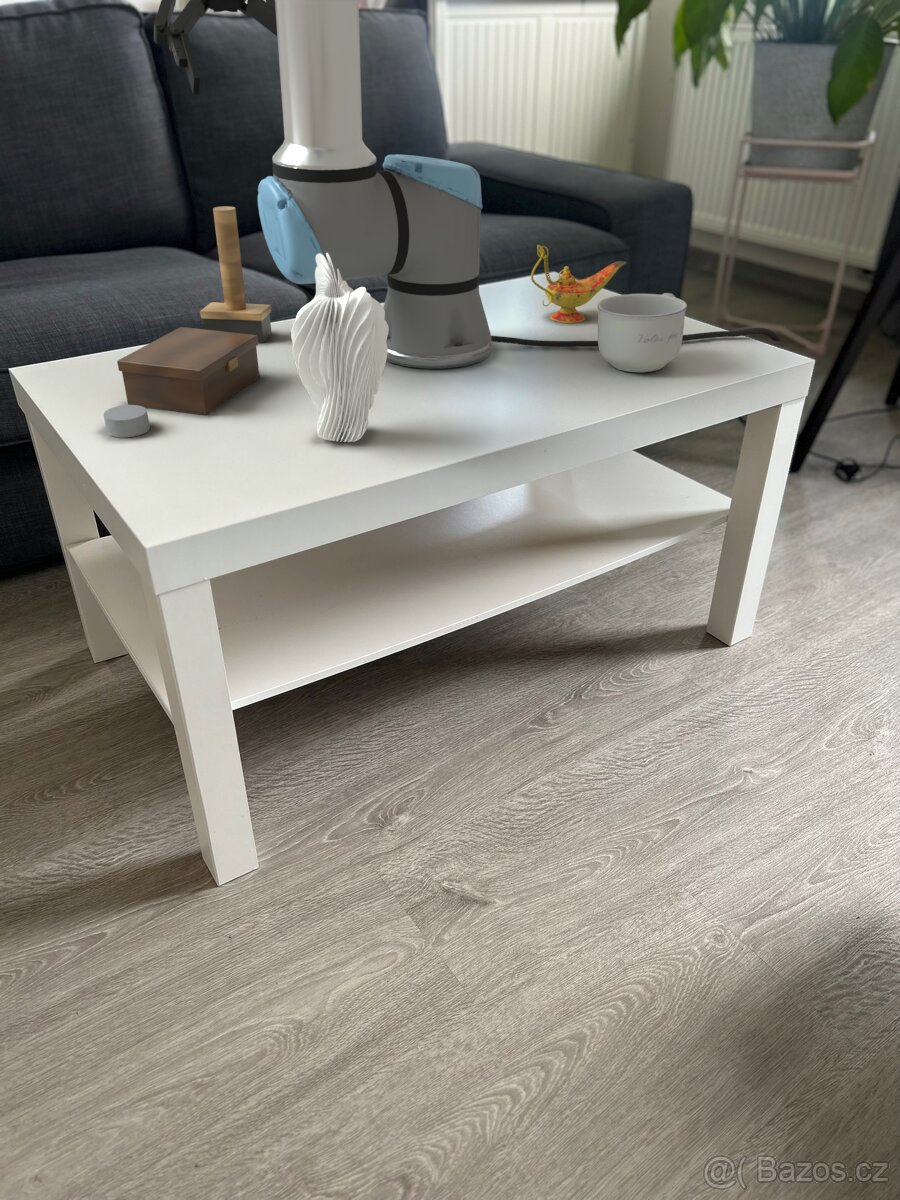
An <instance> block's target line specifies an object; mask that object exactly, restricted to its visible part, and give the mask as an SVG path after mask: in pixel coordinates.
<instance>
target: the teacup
mask: <svg viewBox="0 0 900 1200" xmlns="http://www.w3.org/2000/svg"><path fill="white" fill-rule="evenodd" d="M687 308H688V304H687V303H686V301H684V300H682V299H680V298H678V297H676V296H675V295H674V294H673V293H671V292H670V293H669V292H664V293H662V294H658V293H657V294H656V293H629V294H627V293H626V294H619V295H613V296H609V297H605V298H603V299H601V300H599V302H597V310H598V311H597V313H598V314H597V341H598V346H599V347H598V350H599V353H600V355H601V357H602V358H603V359H604V360H606V362H608V363H609V364H610V366H612V367H613V368H614V369H617V370H619V371H623V372H629V373H649V372H654V371H658V370H661V369H663V368H664V367H666V366H667V365H668V363H670V362H671V361H673V360H674V359H675V358H676V357H677V356H678V355H679V352H680V350H681V348H682V343H683V341H682V338H683V335H684V329H685V318H686V310H687Z"/></svg>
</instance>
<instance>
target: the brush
mask: <svg viewBox="0 0 900 1200" xmlns="http://www.w3.org/2000/svg"><path fill="white" fill-rule="evenodd" d="M236 209H237V208H236V207H234V206H228V205H227V206H226V205H225V206H223V205H222V206H215V207H213V208H212V213H213V223H214V229H215V235H216V236H215V237H216V246H217V253H218V261H219V262H218V263H219V270H220V276H221V277H220V278H221V287H222V293H223V301H224V302H214V301H211V302H210V303H208V304H207V305H206V306H204V308H202V309H201V310H200V311H199V312H200V313H199V314H200V318H201V319H202V321H203V326H204V330H214V331H223V332H233V333H242V334H251V335H257V336H258V344H259V343H260V344H263V343H265V342H266V341H267V339H269V337H270V336H271V335H272V325H271V315H270V313H272V305H271V304H266V303H265V304H263V303H262V304H261V303H247V301H246V292H245V281H244V273H243V263H242V255H241V248H240V247H241V246H240V245H241V244H240V239H239V229H238V219H237V211H236Z"/></svg>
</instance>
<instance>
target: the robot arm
mask: <svg viewBox="0 0 900 1200" xmlns="http://www.w3.org/2000/svg"><path fill="white" fill-rule="evenodd" d="M176 3H177V0H160V3H159V6H158V10H157V13H156V15H155V19H154V22H153V42H154V43H155V44H156V45H163V44H167V45H169V52H170V53H172V54H173V58H174V61H175V65H176V66H177V67H178V68H185V72H186V76H187V79H188V82H189V85H190V88H191V91H192V95H200V87H201V76H200V72H199V69H198V65H197V62H196V59H195V56H194V52H193V48H192V45H191V42H190V37H189V34H190V32H191V31H192V30H193V29H194V27H195V25H196V24H197V23H198V22H199V20H200V18H203V17H204V16H205V14H206V13H207V11H208V10H209V9H210V10H212V11H213V13H221V12H230V13H238V11H239V12H240V13H242V14H243V15H244V16H245V17H247V18H253V19H254V20H255V21H256V22H258V23H259V24H260V25H262V26H263V27H264V28H265V29H267V30H268V31H269V32H271V33H272V34H273V35H275V36H276V37H277V49H278V64H279V79H280V92H281V94H280V95H281V105H282V106H281V107H282V108H281V109H282V122H283V132H284V135H283V136H284V140H283V142H282V144H281V145H280V146H279V148H278V149H277V150H276V151H275V153H274V154H273V155H272V158H271V159H272V173H273V175H268V176H266V177H265V178H263V179H261V181H260V182H259V184H258V186H257V192H258V194H257V208H258V214H259V215H258V216H259V219H260V224H261V228H262V232H263V236H264V239H265V242H266V245H267V247H268V250H269V253H270V256H271V257H272V259H273V261H274V264H275V265H276V267H277V269H278V270H279V271H280V273H281V274H282V275H283V276H284V278H285V279H287V281H290V282H291V283H294V284H297V285H307V284H308V285H309V284H316V280H315V270H316V267H317V263H316V255H317V254H319V253H320V254H322V255H323V256H324V257H325V258H326V260H327V262H328V259H327V256H326V253H328V254H329V256H330V258H331V261H332V264H333V268H334V271H335V276H336V280H337V282H338V274H337V269H339V272H340V275H341V278H342V281H350V280H359V279H365V278H366V279H367V278H374V277H375V278H376V277H382V276H387V292H386V296H385V300H384V304H383V308H384V311H385V318H384V320H385V321H386V322H387V324H388V327H389V331H388V336H387V340H386V344H387V349H388V352H387V359H386V362H389V363H392V364H395V365H399V366H403V367H410V368H416V369H452V368H459V367H460V368H461V367H464V366H469V365H473V364H477V363H479V362H481V361H484V360H485V359H487V358H488V357H489V356H490V354H491V353H492V343H502V344H512V345H514V344H515V345H521V346H526V347H527V346H528V347H546V348H599V346H598V340H538V339H527V338H518V337H511V336H500V335H492V333H491V330H490V326H489V322H488V319H487V315H486V312H485V308H484V304H483V302H482V298H481V295H480V265H481V264H480V263H481V262H480V258H481V222H482V210H483V203H482V202H483V199H482V184H481V176H480V173H479V172H478V171H477V170H476V169H475V168H474V167H473V166H471V165H469V164H466V163H462V162H459V161H458V162H457V161H453V160H448V159H443V158H435V157H429V156H422V155H421V156H420V155H411V154H410V155H409V154H398V153H397V154H396V153H395V154H388V155H386V156H385V157H384V161H383V163H382V168H383V170H377V157H376V155H375V154H374V153H373V152H372V151H371V149H370V148H369V147H367V146H366V144H365V142H364V141H363V115H362V111H363V110H362V79H361V78H362V77H361V74H362V73H361V44H360V43H361V40H360V39H361V38H360V8H359V7H360V6H359V4H360V3H359V0H189V1H188V2H187V4H186V5H185V6H184V7H183V9H182V10H181V12H180V13H179V15H178V16H177V17H176V18H175V20H174V22H173V23H172V24H171V20H172V17H173V13H174V10H175V8H176V7H175V6H176ZM170 24H171V26H170ZM328 264H329V262H328ZM329 267H330V265H329ZM330 269H331V268H330ZM331 272H332V270H331ZM332 275H333V273H332ZM333 278H334V275H333ZM334 281H335V278H334ZM749 335H763V336H764V335H765V336H767V337H768V338H770V339H771V340H772V341H774V342H781V338H780V337H779V336H778V335H777V334H776V332H774V331H772V330H770V329H768V328H765V327H752V328H751V327H750V328H745V329H737V330H720V331H719V330H717V331H708V332H697V333H690V334H683V338H682V342H686V341H695V340H704V339H714V338H730V337H731V338H734V337H742V336H749Z"/></svg>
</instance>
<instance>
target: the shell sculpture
mask: <svg viewBox="0 0 900 1200" xmlns="http://www.w3.org/2000/svg"><path fill="white" fill-rule="evenodd" d="M326 256H327V259H328V262H329V264H328V262H327V260H326V258H325V257H324V256H323V255H322V254H320V253H319V254H317V255H316V263H317V267H316V270H315V280H316V283H315V295H314V297H313V298H312V299H311V301H309V302H308V303H306V304H305V305H303V306H302V307H301V308H300V309H299V311H297V313H296V316H295V320H294V321H293V324H292V327H291V330H290V337H291V341H292V347H291V349H292V350H291V353H292V358H293V361H294V364H295V367H296V370H297V373H298V376H299V378H300V381H301V383H302V385H303V387H304V389H305V390H306V392H307V394H308V396H309V399H310V400H311V401H312V403H313V405H314V407H315V409H316V412H317V414H318V416H319V417H318V421H317V424H316V434H317V436H318V438H319V439H322V440H324V441H329V442H337V443H338V442H340V443H342V442H344V443H355V442H358V441H359V440H360V439H361V438H363V436H364V434H365V433H366V431H367V429H368V426H369V415H370V410H371V409H372V408H373V407H374V401H375V395H377V394H378V391H379V386H380V378H381V377H382V376H383V373H384V371H385V369H386V364H387V361H386V359H387V352H388V349H387V344H386V340H387V336H388V331H389V327H388V324H387V322H386V321H385V320H384V318H385V311H384V308H383V307H384V305H382V303H380V302H379V301H378V300H376V299H375V298H374V297H372V295H371V294H370V292H367V288H366V287H365V286H360V287H358V288H356V289H355V290H354V289H353V288H352V287H351V286H349V284H348V282H347V280H342V278H341V275H340V272H339V269H337V274H338V281H337V280H336V276H335V271H334V268H333V264H332V261H331V258H330V256H329V254H328V253H326ZM329 265H330V267H329ZM330 268H331V269H330ZM331 270H332V272H331ZM332 273H333V275H334V278H335V281H334V278H333V275H332Z"/></svg>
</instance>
